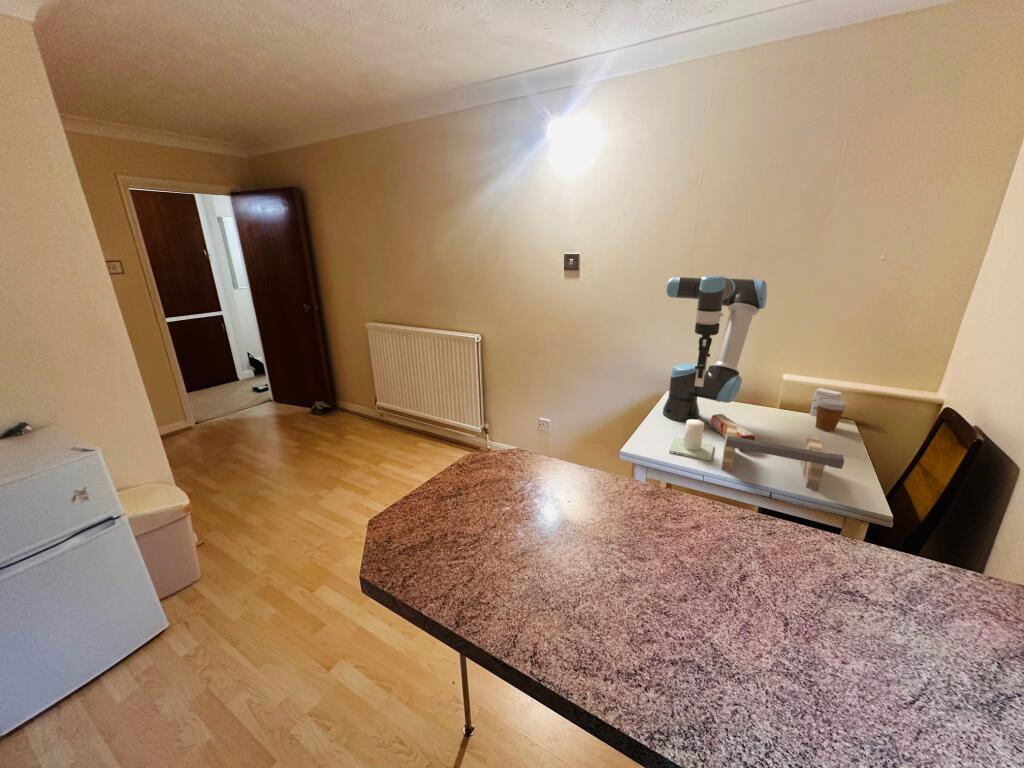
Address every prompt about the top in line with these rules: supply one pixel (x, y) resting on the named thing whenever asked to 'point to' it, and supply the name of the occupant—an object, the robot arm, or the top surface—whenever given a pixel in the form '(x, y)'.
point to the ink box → (823, 393)
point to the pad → (701, 454)
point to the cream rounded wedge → (693, 435)
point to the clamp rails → (809, 469)
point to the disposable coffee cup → (829, 413)
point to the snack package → (721, 423)
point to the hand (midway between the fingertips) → (700, 379)
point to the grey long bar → (786, 451)
